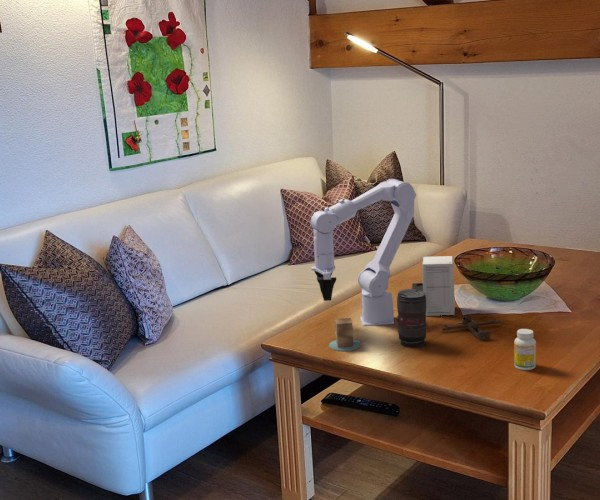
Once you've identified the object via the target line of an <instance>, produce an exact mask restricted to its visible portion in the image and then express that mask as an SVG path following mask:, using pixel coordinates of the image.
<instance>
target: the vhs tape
mask: <svg viewBox="0 0 600 500" xmlns="http://www.w3.org/2000/svg"><path fill="white" fill-rule="evenodd" d="M411 284H412V286H411V287H412V288H411V289H417V290H421V291H423V282H417V283H416V282H415V283H414V282H413V283H411Z"/></svg>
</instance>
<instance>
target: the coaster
mask: <svg viewBox="0 0 600 500" xmlns="http://www.w3.org/2000/svg"><path fill="white" fill-rule="evenodd" d="M361 345H362V343H361V342H360V341H359V340H357V339H354V338H353V347H340V348H338V346H337V343H336V339H335V340H332V341H331V342H330V343H328V347H329V349H331V350H333V351H337V352H350V351H355V350H357V349H359V348H360V347H361Z"/></svg>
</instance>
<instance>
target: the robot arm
mask: <svg viewBox="0 0 600 500" xmlns="http://www.w3.org/2000/svg"><path fill="white" fill-rule="evenodd" d="M416 197H417V193H416V191H415V188H414V187H413V186H412V184H411V183H410V182H407V181H401V180H399V179H396V178H389V179H387V180H385V181H382V182H379V184H377V185H376V186H374V187H372V188H370V190H367V191H366V192H364V193H362V194H361V195H358V196H357V197H355V198H354V199H352V200H350V199H346V198H345V199H343V198H341V199H338V202H337V203H335V204H333V205H331V206H329V207H328V206H326V207H325V208H324V211H323V210H318V211H315V212H314V213H313V214H312V215H311V218H310V220H309V224H310V225H309V226H310V227H311V228H312V230H313V252H314V266H311V267H310V269H311V271H314V273H315V275H316V281H317V282H318V283H317V284H319V289H320V292H321V295H322V299H323V301H324V302H330V301H332V297H333V290H334V287H335V283H336V282H337V277H332V275H333V272H334V271H335V270H336V265H335V252H334V251H335V250H334V249H335V247H334V230H335V229H336V227H337V226H339V225H340V224H343V223H345V222H346V221H349V220H350V219H352V218H354V217H355V216H356V215H357V211H360V210H361V209H363V208H366V207H368V206H371V205H372V204H374V203H377V202H379V201H387V202H389V203H390V204H391V207H392V210H393V212H394V214H393V217H392V218H391V221H390V222H389V225H388V226H387V229H386V232H385V233H384V236H383V238H382V240H381V243H380V244H379V246H378V248H377V250H376V253H375V255H374V256H373V259H372V260H370V261H369V262H367V263H366V265H365V268H363V270H362V271H360V272H359V274H358V276H357V283H358V285H359V287H360V288H361V313H362V315H360V317H359V319H360V322H361V324H362V326H363V327H367V326H368V327H369V326H383V325H384V326H385V325H394V324H395V320H394V319H395V318H394V316H395V315H394V297H393V294H392V292H387V291H388V289H389V283H390V282H389V281H390V278H391V269H390V267H391V265H392V262H393V261H394V258H395V256H396V254H397V252H398V250H399V248H400V245H401V243H402V241H403V239H404V237H405V235H406V233H407V230H408V229H409V226H410V224H411V222H412V220H413V218H414V216H415V199H416Z"/></svg>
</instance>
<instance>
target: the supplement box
mask: <svg viewBox="0 0 600 500" xmlns="http://www.w3.org/2000/svg"><path fill="white" fill-rule="evenodd" d="M421 268H422V283H423V291H424V292H425V294H426V317H443V316H442V315H454V316H455V307H456V306H455V278H454V277H455V275H454V261H453V255H443V256H439V255H438V256H423V257H422V267H421ZM440 315H441V316H440Z"/></svg>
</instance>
